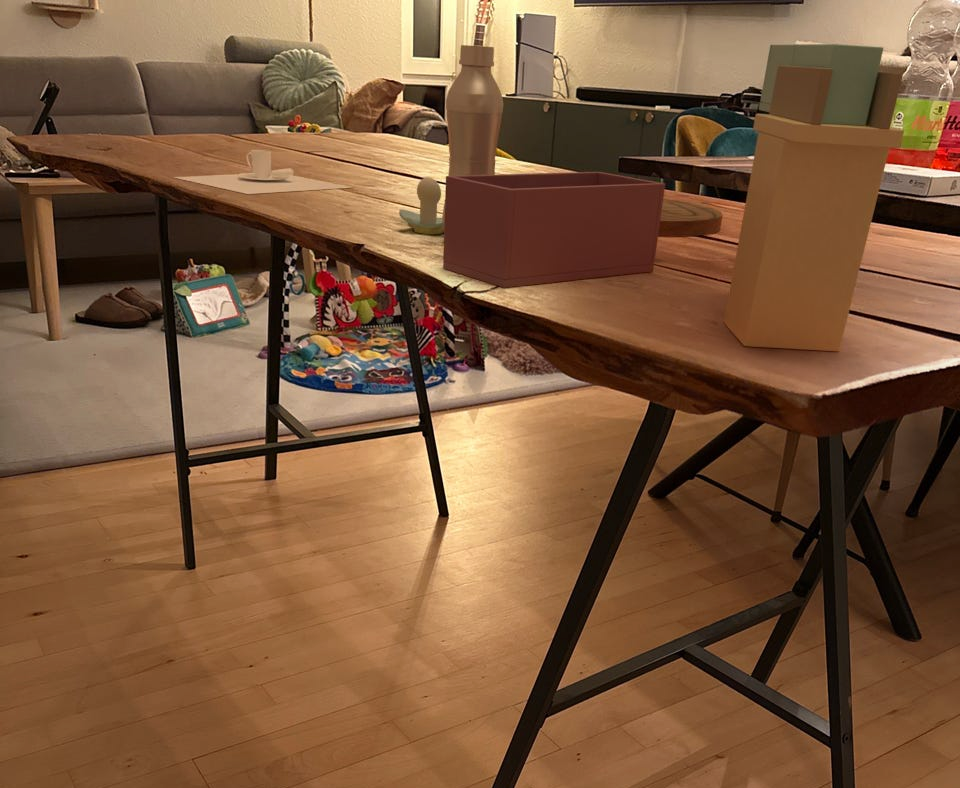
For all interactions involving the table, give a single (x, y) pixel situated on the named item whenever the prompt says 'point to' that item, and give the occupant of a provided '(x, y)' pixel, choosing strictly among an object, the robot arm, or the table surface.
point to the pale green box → (847, 83)
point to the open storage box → (550, 226)
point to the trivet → (688, 219)
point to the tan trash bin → (807, 213)
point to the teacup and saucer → (262, 178)
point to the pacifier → (425, 209)
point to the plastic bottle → (473, 115)
